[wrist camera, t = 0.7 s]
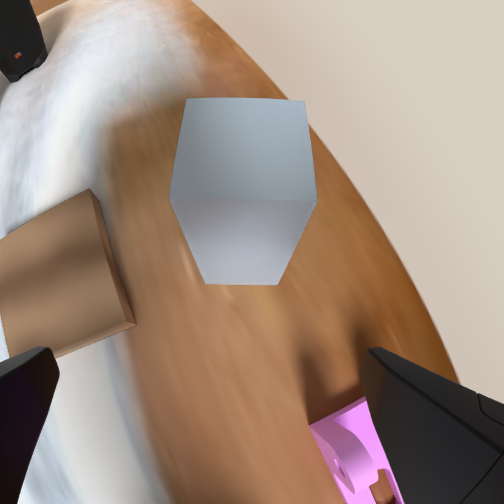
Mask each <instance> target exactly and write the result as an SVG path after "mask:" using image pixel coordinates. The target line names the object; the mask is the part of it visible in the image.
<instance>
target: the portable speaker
mask: <svg viewBox="0 0 504 504" xmlns="http://www.w3.org/2000/svg"><path fill="white" fill-rule="evenodd" d="M47 55H48V54H47V51H46V48H45V43H44V40H43V36H42V33H41V29H40V25H39V23H38V20H37V18H36V16H35V13H34V11H33V8H32V6H31V3H30V0H0V70H1V72H2V73H3V74H4V75H5V76H6V77H7V78H8V80H9V81H10V82H11V83H12V82H16V81H18V80H19V79H20V75H22V74H23V73H25V72H26V71H27V70H29V69H31V68H32V67H34V68H37V67H39V66H40V65H41V64H42V63H43V62H44V61H45V59H46V57H47Z"/></svg>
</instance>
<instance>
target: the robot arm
mask: <svg viewBox="0 0 504 504" xmlns="http://www.w3.org/2000/svg"><path fill="white" fill-rule="evenodd" d="M59 375H60V372H59V368H58V365H57V362H56V360H55V357H54V354H53V351H52V350H51V348H49V347H45V346H37V347H35V348H32V349H30V350H28V351H25V352H23V353H21V354H18V355H16V356H14V357H11V358H9V359H7V360H4V361H2V362H0V504H17V503H18V499H19V495H20V492H21V489H22V485H23V482H24V479H25V476H26V472H27V469H28V466H29V463H30V460H31V458H32V455H33V452H34V449H35V446H36V444H37V441H38V438H39V436H40V433H41V431H42V428H43V425H44V423H45V420H46V418H47V415H48V412H49V408H50V405H51V402H52V398H53V395H54V392H55V389H56V386H57V383H58V380H59ZM360 381H361V384H362V387H363V391H364V394H365V398H366V401H367V405H368V409H369V412H370V416H371V419H372V422H373V425H374V428H375V430H376V433H377V435H378V438H379V440H380V442H381V445H382V447H383V450H384V452H385V455H386V457H387V460H388V462H389V465H390V468H391V470H392V473H393V475H394V478H395V480H396V483H397V486H398V488H399V491H400V494H401V496H402V499H403V502H404V504H504V404H502V403H500V402H498V401H495V400H493V399H491V398H488V397H486V396H484V395H482V394H479V393H478V394H477V393H476V392H475V391H473V390H470V389H468V388H466V387H464V386H462V385H460V384H457V383H455V382H453V381H451V380H449V379H447V378H444V377H442V376H440V375H438V374H436V373H434V372H432V371H430V370H427V369H425V368H423V367H421V366H419V365H417V364H415V363H413V362H411V361H408V360H406V359H404V358H402V357H400V356H398V355H396V354H394V353H392V352H390V351H388V350H386V349H384V348H382V347H372V348H367V349H366V350H365V352H364V355H363V360H362V365H361V369H360Z"/></svg>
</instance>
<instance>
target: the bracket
mask: <svg viewBox="0 0 504 504" xmlns="http://www.w3.org/2000/svg"><path fill="white" fill-rule="evenodd" d="M309 427H310V429H311V432H312V434H313V436H314V438H315V440H316V442H317V445H318V447H319V449H320V451H321V453H322V455H323V457H324V460H325V462H326V464H327V466H328V468H329V470H330V472H331V474H332V476H333V479H334V481H335V483H336V485H337V487H338V489H339V491H340V493H341V495H342V497H343V500H344V502H345V504H376V502H375V500H374V498H373V495H372V493H371V491H370V488H369V486H370V485H371V484H373V483H375V482H376V481H378V473H377V470H378V469H382V468H384V471H385V473H386V476H387V478H388V481H389V483H390V486H391V488H392V491H393V494H394V496H395V499H396V503H395V504H404V502H403V499H402V496H401V494H400V491H399V488H398V486H397V483H396V480H395V478H394V475H393V473H392V470H391V468H390V465H389V462H388V460H387V457H386V455H385V452H384V450H383V447H382V445H381V442H380V440H379V438H378V435H377V433H376V430H375V428H374V425H373V422H372V419H371V416H370V412H369V409H368V405H367V401H366V398H365V396H364V397H362V398H360V399H359V400H357V401H355V402H353V403H351V404H350V405H348V406H346V407H344V408H342V409H340V410H339V411H337V412H335V413H333V414H331V415H329V416H327V417H325V418H323V419H321V420H319V421H317V422H315V423H313V424H311V425H309Z"/></svg>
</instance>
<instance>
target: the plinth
mask: <svg viewBox="0 0 504 504" xmlns="http://www.w3.org/2000/svg"><path fill="white" fill-rule="evenodd" d="M0 315H1V320H2V326H3V331H4V335H5V340H6V344H7V349H8V353H9V357H10V358H11V357H14V356H16V355H18V354H21V353H23V352H25V351H28V350H30V349H32V348H35V347H37V346H45V347H49V348H51V350H52V351H53V354H54V357H55V359H56V358H58V357H61V356H63V355H66V354H68V353H70V352H73V351H75V350H78V349H80V348H83V347H85V346H87V345H90V344H92V343H95V342H97V341H99V340H102V339H104V338H106V337H109V336H111V335H114V334H116V333H118V332H121V331H123V330H125V329H128V328H130V327H132V326H135V325H136V322H135V320H134V317H133V314H132V311H131V309H130V306H129V303H128V300H127V297H126V294H125V291H124V288H123V285H122V282H121V279H120V276H119V273H118V270H117V266H116V263H115V260H114V257H113V253H112V250H111V246H110V243H109V239H108V235H107V232H106V228H105V224H104V220H103V216H102V212H101V208H100V204H99V200H98V199H97V198H96V196H95V195H94V194H93V192H92V191H91V190H90V188H89V189H87V190H85V191H83V192H81V193H79V194H77V195H75V196H74V197H72V198H70V199H68V200H66V201H64V202H62V203H61V204H59V205H57V206H55V207H53V208H52V209H50V210H48V211H46V212H44V213H43V214H41V215H39V216H38V217H36V218H34V219H32V220H31V221H29V222H27V223H26V224H24V225H23V226H21V227H19V228H18V229H16V230H15V231H13V232H11V233H10V234H8V235H7V236H5V237H4V238H2V239H1V240H0Z"/></svg>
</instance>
